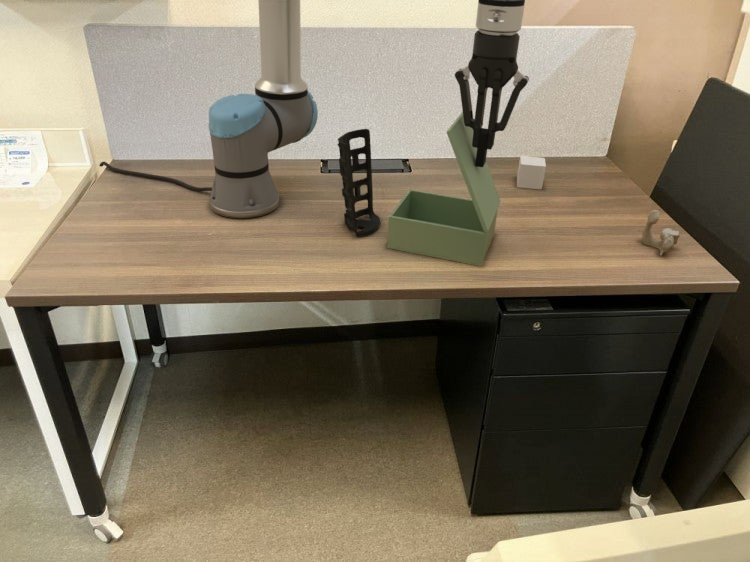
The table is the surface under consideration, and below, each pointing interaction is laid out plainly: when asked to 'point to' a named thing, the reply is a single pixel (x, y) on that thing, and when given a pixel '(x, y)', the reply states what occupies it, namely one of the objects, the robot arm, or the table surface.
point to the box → (439, 228)
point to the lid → (474, 173)
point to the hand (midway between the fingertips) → (480, 164)
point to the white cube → (531, 172)
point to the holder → (357, 183)
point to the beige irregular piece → (667, 235)
